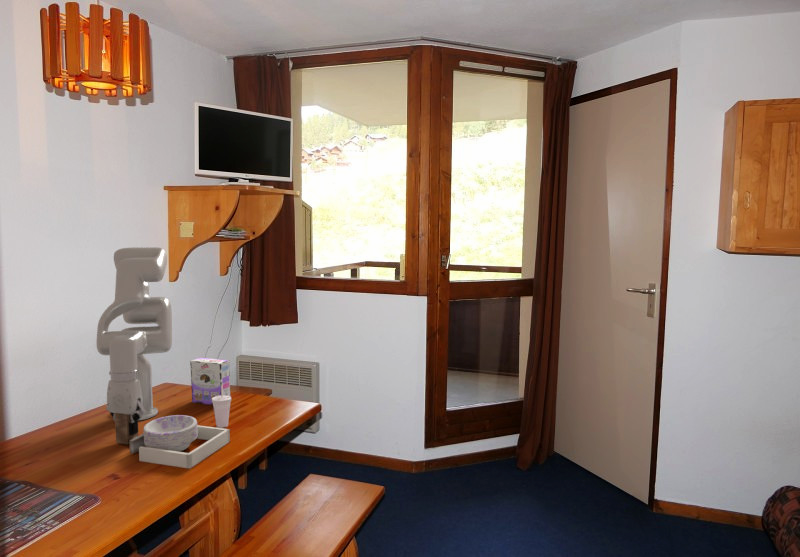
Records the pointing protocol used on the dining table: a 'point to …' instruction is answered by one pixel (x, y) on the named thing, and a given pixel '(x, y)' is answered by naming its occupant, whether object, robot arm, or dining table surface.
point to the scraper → (127, 433)
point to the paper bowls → (171, 432)
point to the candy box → (209, 379)
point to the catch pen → (188, 460)
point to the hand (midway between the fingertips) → (127, 432)
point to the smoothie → (221, 409)
